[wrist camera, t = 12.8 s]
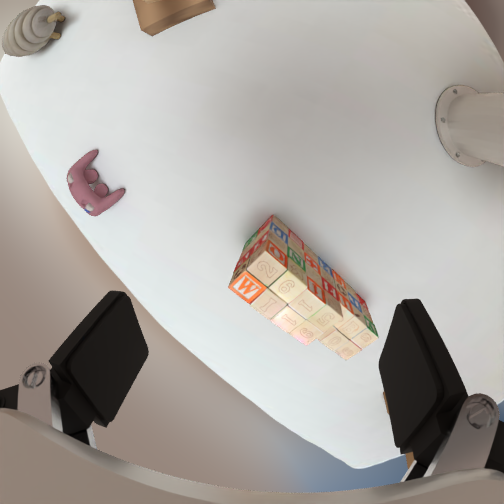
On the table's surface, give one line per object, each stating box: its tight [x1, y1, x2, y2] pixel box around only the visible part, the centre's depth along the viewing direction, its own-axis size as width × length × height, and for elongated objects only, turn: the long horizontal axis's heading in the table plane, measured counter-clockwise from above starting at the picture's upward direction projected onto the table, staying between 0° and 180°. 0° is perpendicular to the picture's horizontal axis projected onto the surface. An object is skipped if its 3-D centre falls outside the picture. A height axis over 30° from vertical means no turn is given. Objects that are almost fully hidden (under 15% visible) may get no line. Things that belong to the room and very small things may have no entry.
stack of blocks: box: [228, 215, 379, 360], centre depth 36 cm, size 21×6×12 cm, turn 49°
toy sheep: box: [2, 5, 65, 57], centre depth 21 cm, size 11×17×11 cm, turn 90°
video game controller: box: [67, 150, 125, 216], centre depth 36 cm, size 10×5×7 cm, turn 35°
